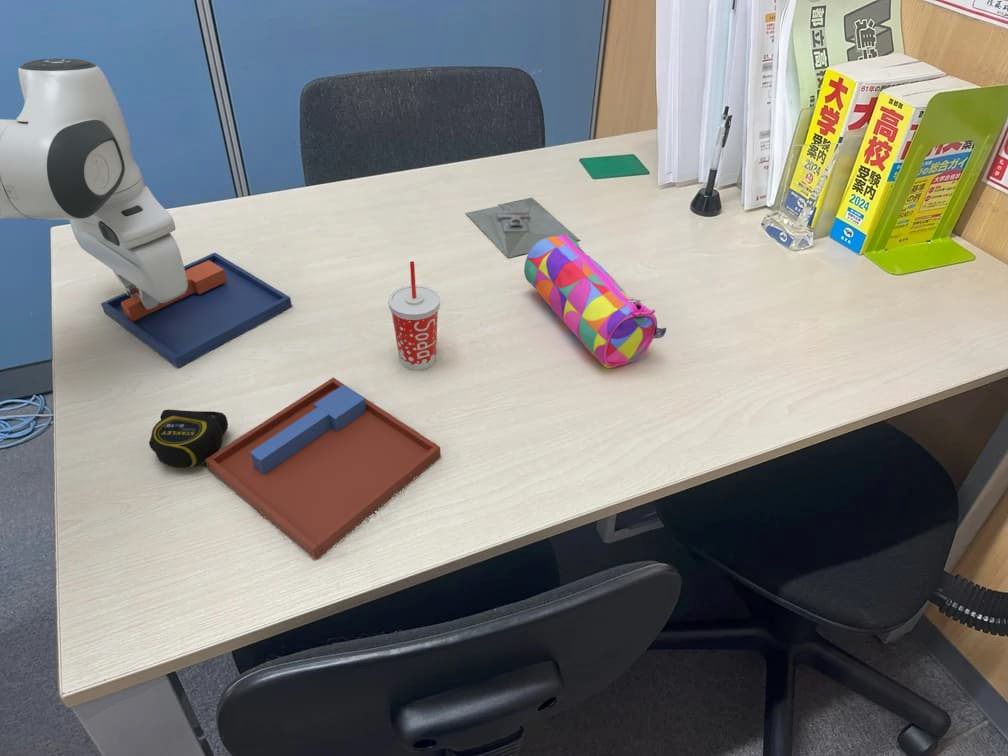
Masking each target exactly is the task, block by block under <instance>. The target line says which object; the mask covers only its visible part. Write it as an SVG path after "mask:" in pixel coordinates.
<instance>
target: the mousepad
mask: <svg viewBox="0 0 1008 756" xmlns="http://www.w3.org/2000/svg"><path fill="white" fill-rule="evenodd" d="M420 194H421V192H420ZM465 214H466V216H467V217H468V218H469V219H470V220H471V221H472V222H473V223H474V224H475V225H476V226H477V227H478V229H480V230H481V231H482V232H483V233H484V235H486V236H487V238H488V239H489V240H490V241H491V242H492V243H493V244H494V246H496V247H497V248H498V249H499V250H500V251H501V252H502V253H503V255H504V256H505V257H506V258H507V259H510V258H513V257H517V256H522V255H525V254H529V252H530V250H531V249H532V248H533V246H534V245H535V244H536V243H537V242H539V241H540V240H542V239H545V238H548V237H552V236H561V235H566V236H567V237H570V238H572V239H573V240H575V241H576V242H579V241H580V238H579V237H577V236H576V235H575V234H574V233H573V232H572V231H571V230H569V229H568V228H567V227H566V226H565V225H563V223H561V221H559V220H558V219H557V218H556V217H555V216H553V214H551V213H550V212H549V211H548V210H547V209H546V208H544V207H543V206H542V204H540V203H539V202H538V201H537V200H536V199H534V197H528V198H523V199H518V200H513V201H509V202H505V203H500V204H497V206H492V207H487V208H483V209H478V210H473V211H468V212H465Z"/></svg>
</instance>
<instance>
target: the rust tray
mask: <svg viewBox="0 0 1008 756" xmlns="http://www.w3.org/2000/svg"><path fill="white" fill-rule="evenodd" d="M342 385H345V386H347V385H346V384H344V383H343V382H341V381H340V380H338V379H336V377H331V378H330V379H328V380H327V381H324V383H322V384H320V385H319V386H317V387H316V388H314V389H313V390H311V391H310V392H308V393H307V394H305V395H303V396H302V397H300V398H299V399H297V400H295V401H294V402H292V403H291V404H289V405H288V406H286V407H285V408H283V409H281V410H280V411H278V412H277V413H275V414H274V415H272V416H271V417H269V418H267V419H266V420H264V421H262V423H260V424H258V425H256V426H255V427H253V428H252V429H250V430H249V431H247V432H246V433H244V434H242V435H241V436H239V437H238V438H236V439H235V440H233V441H232V442H230V443H228V444H227V445H226V446H224V447H222V448H220V449H219V451H217V452H216V453H214V454H213V455H211V456H210V457H208V458H207V459H205V461H206V462H205V464H206V467H207V471H209V472H210V473H212V474H213V475H214V476H215V477H216V478H218V479H219V480H220V481H221V482H222V483H224V484H225V485H226V486H227V487H228V488H230V489H231V490H232V491H233V492H234V493H235V494H236V495H238V496H239V497H240V498H241V499H242V500H243V501H245V502H246V503H248V505H250V507H252V508H253V509H255V511H257V512H258V513H259V514H261V516H263V517H264V518H265V519H266V520H268V521H269V522H270V523H271V524H273V526H275V527H276V528H277V529H278V530H279V531H281V532H282V533H283V534H284V535H285V536H286V537H288V539H290V540H291V541H293V543H295V544H296V545H297V546H299V548H301V549H302V550H303V551H304V552H306V553H307V554H308V555H309V556H310V557H311V558H313V559H314V560H317V559H319V558H320V557H321V556H322V555H323V554H324V553H326V552H327V551H329V550H330V549H331V548H332V547H333V546H334V545H336V544H337V543H338V542H339V541H340V540H342V538H344V537H345V536H346V535H348V534H349V533H350V532H352V531H353V530H354V529H355V528H357V527H358V526H359V525H361V523H363V521H365V520H366V519H367V518H368V517H369V516H371V515H372V514H374V513H375V512H376V511H377V510H378V509H380V508H381V507H382V506H383V505H385V504H386V503H387V502H388V501H389V500H390V499H392V498H393V497H394V496H395V495H397V493H399V492H400V491H402V490H403V489H404V488H405V487H406V486H407V485H409V484H410V483H411V482H412V481H413V480H415V479H416V478H417V477H418V476H419V475H421V474H422V473H424V471H426V470H427V469H428V468H429V467H430V466H432V465H433V464H434V463H435V462H436V461H438V460H439V459H440V458H441V456H442V455H441V446H439V445H438V444H436V443H435V442H433V441H432V440H431V439H429V438H427V437H426V436H424V435H423V434H422V433H420V432H418V431H416V430H415V429H413V428H412V427H410V426H409V425H407V424H406V423H404V422H403V421H401V420H400V419H398V418H396V417H395V416H393V415H392V414H390V413H389V412H387V411H386V410H385V409H383V408H381V407H379V406H378V405H376V404H375V403H374V402H372V401H370V400H369V399H367V398H366V397H364V396H363V395H361V394H359V393H358V394H359V395H361V396H362V397H364V398H365V402H366V410H367V411H366V412H364V413H363V414H361V415H360V416H359V417H357V418H356V419H354V420H353V421H351V422H350V423H349V424H347V425H346V426H344V427H343V428H342V429H340V430H339V431H336V430H334V429H333V428H332V427H331V429H329V430H328V431H326V432H325V433H323V434H322V435H321V436H319V437H318V438H316V439H315V440H313V441H312V442H310V443H309V444H308V445H306V446H305V447H303V448H302V449H300V450H299V451H298V452H296V453H295V454H293V455H292V456H290V457H289V458H287V459H286V460H285V461H283V462H282V463H280V464H279V465H277V466H276V467H274V468H273V469H272V470H270V471H269V472H267V473H266V474H263V473H262V472H261V471H259V470H258V469H257V468H256V467H254V465H253V461H252V458H251V455H250V452H251V451H252V450H254V449H255V448H257V447H258V446H260V445H261V444H263V443H264V442H266V441H267V440H269V439H270V438H272V437H273V436H275V435H276V434H278V433H279V432H281V431H282V430H284V429H286V428H287V427H289V426H290V425H292V424H293V423H295V422H296V421H298V420H299V419H301V418H302V417H304V416H305V415H307V414H308V413H310V412H311V411H313V410H314V409H315V408H314V404H315V403H316V402H318V401H319V400H321V399H322V398H324V397H325V396H327V395H328V394H330V393H331V392H333V391H334V390H336V389H338V388H339V387H341V386H342ZM347 387H348V388H350V387H349V386H347ZM350 389H351V390H353V389H352V388H350Z"/></svg>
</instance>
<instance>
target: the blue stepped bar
mask: <svg viewBox="0 0 1008 756" xmlns="http://www.w3.org/2000/svg"><path fill="white" fill-rule="evenodd" d="M345 385H346V384H344V385H342V386H341V387H339V388H338V389H336V390H334V391H333V392H331V393H330V394H328V395H327V396H325V397H324V398H322V399H321V400H319V401H318V402H316V403H315V404H314V408H315V409H314V410H313V411H311V412H310V413H308V414H307V415H305V416H304V417H302V418H301V419H299V420H298V421H296V422H295V423H293V424H292V425H290V426H289V427H287V428H286V429H284V430H282V431H281V432H279V433H278V434H276V435H275V436H273V437H272V438H270V439H269V440H267V441H266V442H264V443H263V444H261V445H260V446H258V447H257V448H255V449H254V450H252V451H251V452H250V455H251V458H252V461H253V465H254V467H256V468H257V469H258V470H259V471H261V472H262V473H263V474H266V473H267V472H269V471H270V470H272V469H273V468H274V467H276V466H277V465H279V464H280V463H282V462H283V461H285V460H286V459H287V458H289V457H290V456H292V455H293V454H295V453H296V452H298V451H299V450H300V449H302V448H303V447H305V446H306V445H308V444H309V443H310V442H312V441H313V440H315V439H316V438H318V437H319V436H321V435H322V434H323V433H325V432H326V431H328V430H329V429H331V427H332V428H333V429H334V430H336V431H339V430H340V429H342V428H343V427H344V426H346V425H347V424H349V423H350V422H351V421H353V420H354V419H356V418H357V417H359V416H360V415H361V414H363V413H364V412H366V411H367V410H366V402H365V398H366V397H364V396H363V395H361V394H360V395H359V393H358V392H357V391H356V390H354V389H352V388H351V387H349V386H347V385H346V386H345ZM348 387H349V388H348ZM351 389H352V390H351ZM362 396H363V397H362Z"/></svg>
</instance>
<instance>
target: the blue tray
mask: <svg viewBox="0 0 1008 756" xmlns="http://www.w3.org/2000/svg"><path fill="white" fill-rule="evenodd" d="M208 260H209V261H211V262H213V263H214V264H216V265H218V266H219V267H221V268H223V269H224V272H225V276H226V279H227V282H225V283H223V284H220V285H218V286H216V287H214V288H212V289H210V290H208V291H206V292H204V293H201V294H198V293H196V292H194V293H192V294H190V295H188V296H186V297H184V298H182V299H179V300H177V301H175V302H173V303H171V304H169V305H167V306H165V307H162V308H160V309H158V310H156V311H154V312H152V313H150V314H148V315H145V316H143V317H141V318H139V319H137V320H135V321H132V320H131V319H129V318H128V317H127V316H126V315H125V313H124V310H123V308H122V305H121V302H122V301H125V300H127V299H129V298H131V297H129V296H128V295H127V294H126V291H124V292H123V293H121V294H118V295H117V296H114V297H112V298H109V299H107V300H105V301H103V302H101V303H100V305H101V307H102V310H103V312H104V314H105V315H106V316H107V317H109V318H110V319H112V320H113V321H115V322H116V323H117V324H118V325H120V326H121V327H123V328H124V329H125V330H126V331H127V332H129V333H130V334H132V335H133V336H135V337H136V338H137V339H138V340H139V341H141V342H142V343H144V344H145V345H146V346H148V347H149V348H150V349H151V350H153V351H154V352H155V353H157V354H158V355H159V356H161V357H162V358H164V359H165V360H166V361H168V362H169V363H170V364H172V365H173V366H174V367H176V368H177V369H179V368H182V367H184V366H185V365H187V364H189V363H191V362H192V361H194V360H196V359H198V358H199V357H201V356H204V355H205V354H207V353H210V352H211V351H213V350H215V349H217V348H219V347H220V346H222V345H225V344H226V343H228V342H230V341H231V340H233V339H235V338H237V337H239V336H241V335H243V334H245V333H247V332H248V331H250V330H252V329H254V328H256V327H258V326H259V325H261V324H263V323H265V322H266V321H268V320H271V319H272V318H274V317H276V316H278V315H280V314H282V313H283V312H285V311H287V310H289V309H291V308H292V307H293V304H292V300H291V297H290V296H289V295H287V294H285V293H284V292H282V291H281V290H279V289H277V288H275V287H274V286H272V285H270V284H269V283H267V282H265V281H264V280H262V279H260V278H258V277H257V276H255V275H254V274H252V273H250V272H249V271H247V270H245V269H244V268H242V267H241V266H239V265H237V264H235V263H233V262H232V261H230V260H229V259H227V258H225V257H224V256H222V255H220V254H218V253H217V252H213V253H210V254H208V255H206V256H204V257H202V258H198V259H197V260H195V261H193V262H190V263H188V264H186V265H184V269H185V270H188V269H190V268H192V267H194V266H197V265H199V264H201V263H203V262H206V261H208Z"/></svg>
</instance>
